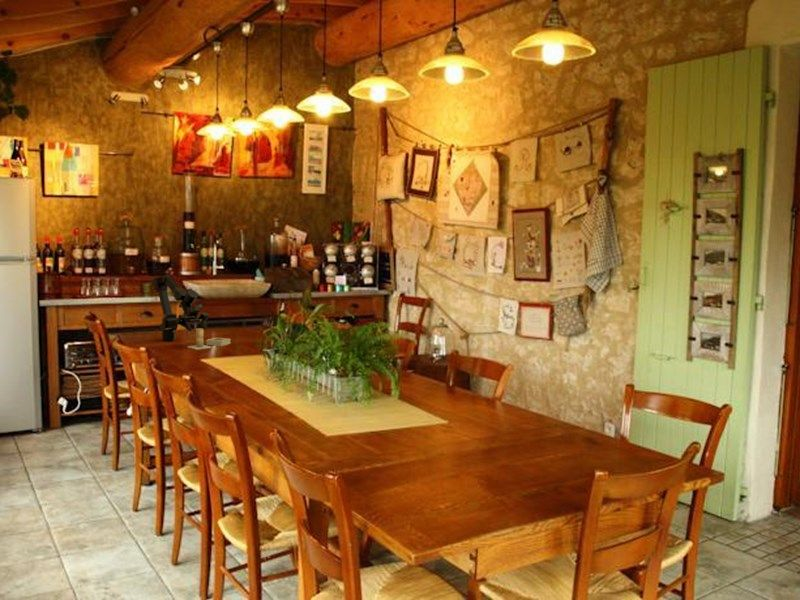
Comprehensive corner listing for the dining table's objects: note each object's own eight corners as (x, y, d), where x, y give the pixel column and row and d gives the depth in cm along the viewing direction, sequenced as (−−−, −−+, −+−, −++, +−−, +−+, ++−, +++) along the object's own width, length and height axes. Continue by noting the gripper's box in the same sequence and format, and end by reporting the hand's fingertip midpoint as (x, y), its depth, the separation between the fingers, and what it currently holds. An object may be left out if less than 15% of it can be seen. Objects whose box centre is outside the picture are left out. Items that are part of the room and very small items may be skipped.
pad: (187, 347, 443) (187, 346, 443) (202, 345, 450) (202, 344, 450) (196, 349, 436) (196, 348, 436) (212, 348, 443) (212, 347, 443)
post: (194, 346, 443) (194, 329, 442) (200, 345, 446) (201, 328, 445) (198, 347, 440) (198, 329, 439) (204, 346, 443) (204, 329, 442)
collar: (206, 344, 453) (206, 339, 453) (215, 342, 463) (215, 337, 463) (221, 346, 450) (221, 341, 450) (230, 343, 460) (230, 338, 460)
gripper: (178, 300, 438) (189, 322, 432) (207, 299, 452) (218, 320, 445) (171, 313, 444) (181, 334, 438) (200, 311, 458) (210, 332, 451)
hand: (198, 330), depth 443 cm, fingers open, 9 cm apart
